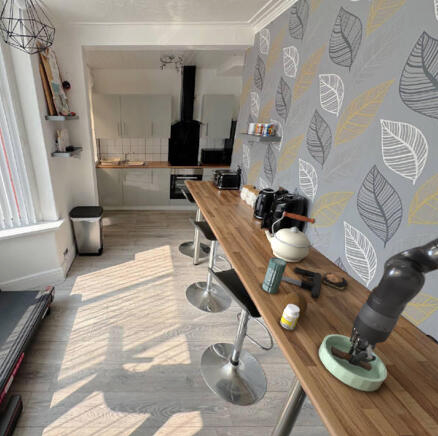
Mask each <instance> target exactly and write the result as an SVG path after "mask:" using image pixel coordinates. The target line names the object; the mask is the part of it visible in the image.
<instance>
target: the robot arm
mask: <svg viewBox="0 0 438 436" xmlns="http://www.w3.org/2000/svg"><path fill="white" fill-rule="evenodd" d="M437 270H438V237H436V238H434V239H432V240H429V241H428V242H427V243H425V244H422V245H418V246H415V247H411V248H409V249H406V250H402V251H400V252H397V253H396V254H393V255H392V256H390V257H389V258H387V260H385V262H384V263H383V274H382V276H381V278H380V280H379V282H378V284H377V285H376V286H375V287H373V288H372V290H371V291H370V293H369V295H368V297H367V298H366V301H365V302H364V303H363V304H362V305H361V307H360V309H359V310H358V313H357V314H356V316H355V318H354V320H353V322H352V329H351V333H350V336H349V338H350V342H352V343H351V345H350V347H351V348H350V350H349V352H348V354H350V355H351V357H350V359H349V360H348V361H349V363H350V364H352V365H355V366H358V364H359V363H360V361H362V362H365V363H368V362H371V361H375V360H376V356H374V355H372V351H374V350H375V349H376V346H377V344H378V343H379V344H380V343H385V342H387V340H388V339H389V337H390V335H392V332H393V331H394V329H395V327H396V326H397V324H398V323H399V321H400V320H399V319H400V317H401V316H402V314H403V312H404V311H405V309H407V308H406V307H407V305H408V304H409V303H410V302H411V301H413V299H414V298H416V296H418V295H419V293H420V292H421V290H422V289H423V288H424V286H425V283H426V274H428V273H432V272H434V271H437ZM360 352H361V353H360Z"/></svg>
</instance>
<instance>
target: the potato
mask: <svg viewBox="0 0 438 436" xmlns="http://www.w3.org/2000/svg"><path fill="white" fill-rule="evenodd" d="M288 304H294V305H296V306H297V307H298V308H299V309H300V311H299V317H298V319H300V318H303V317H304V316H305V314H306V312H307V309H308V301H307V299H306V298H305V296H304V295H303V294H301V293H299V292H295V291H293V292H290V293H288V294H287V295H286V297H285V298H284V299H283V305H284V309H285V308H286V307H287V305H288Z"/></svg>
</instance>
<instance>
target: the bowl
mask: <svg viewBox="0 0 438 436" xmlns="http://www.w3.org/2000/svg"><path fill="white" fill-rule="evenodd" d="M351 343H352V342H350V336H346V335H344V334H343V335H342V334H335V333H332V334H327V335H326V336H325V337H324V338H323V339H322V341H321V344H320V346H319V348H318V356H319V359H320V361H321V362H322V364H323V365H324V367H325V368H326V369H327V370H328V371H329V372H330V374H331V375H333V376H334V377H335V378H336V379H338V380H339V381H341V382H342V383H344V384H346V385H348V386H349V387H351V388H353V389H355V390H359V391H363V392H374V391H377V390H378V389H379V388H380V387H381V386H382V384H383V383H384V381H385V380H386V378H387V377H388V370H387V367H386V365H385V363H384V362H383V360H382V359H381V358H380V357H379V355H378V354H376V353H375V352H374V350H372V355H374V356H376V360H375V361H371V362H368V363H370V364H371V366H372V369H371V370H370V371H368V370H366V369H364V368H361V367H359V366H355V365H352V364H350V363H349V361H347V360H345V359H343V360H342V359H340V358H338V357H336V356H334V355H332V353H331V347H335V348H337V349H339V350H341V351H343V352H346V353H348V352H349V350H350V348H351V347H350V345H351ZM360 353H361V352H360Z"/></svg>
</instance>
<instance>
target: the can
mask: <svg viewBox="0 0 438 436" xmlns="http://www.w3.org/2000/svg"><path fill="white" fill-rule="evenodd" d="M287 265H288V263H287V261H285V260H283V259H281V258H278V257H276V256H273V257H270V259H269V262H268V265H267V268H266V272H265V276H264V279H263V282H262V285H261V286H262V289H263V290H264V292H267V293H269V294H272V295H273V294H274V295H275V294H277V293H278V291H279V289H280V285H281V282H282V281H283V280H282V277H283V276H284V273H285V270H286V267H287Z"/></svg>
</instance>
